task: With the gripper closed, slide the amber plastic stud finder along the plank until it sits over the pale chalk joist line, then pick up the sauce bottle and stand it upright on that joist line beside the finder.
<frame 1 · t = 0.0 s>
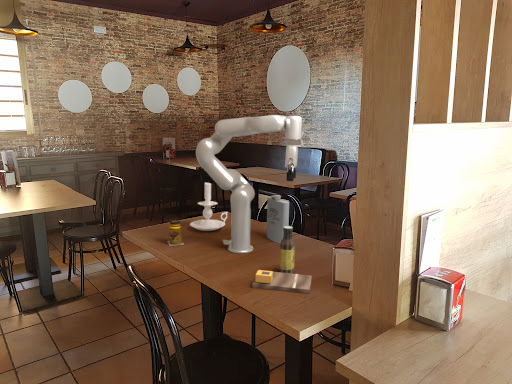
hand: (291, 179, 183), 37 cm above the table, tool pointing down, fingers open, 9 cm apart
candlestick: (210, 228, 231), on the table
stud finder: (264, 276, 153), point 3 cm above the table, slide at 0.0 cm
plank: (282, 283, 156), on the table
flask: (276, 240, 211), on the table
condiment: (175, 243, 202), on the table
sauce bottle: (286, 272, 168), on the table
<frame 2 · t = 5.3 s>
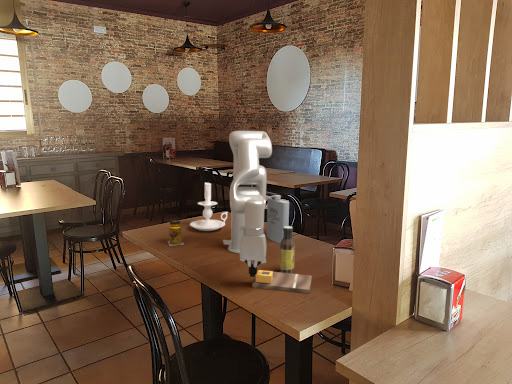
hand: (252, 275, 154), 3 cm above the table, tool pointing down, fingers closed
stud finder: (264, 276, 153), point 3 cm above the table, slide at 0.1 cm, touching gripper
everything else where it was.
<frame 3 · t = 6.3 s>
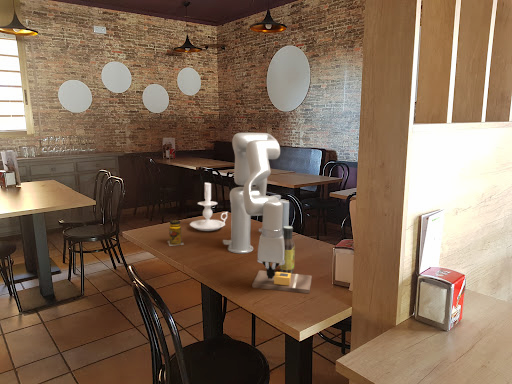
hand: (270, 277, 153), 3 cm above the table, tool pointing down, fingers closed
stud finder: (282, 278, 152), point 3 cm above the table, slide at 7.2 cm, touching gripper
everything else where it was.
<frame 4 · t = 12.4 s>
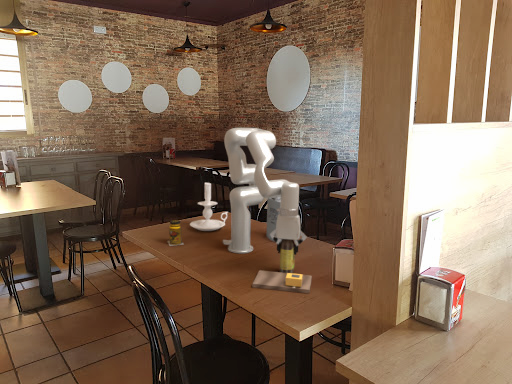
hand: (287, 252, 166), 9 cm above the table, tool pointing down, fingers closed on sauce bottle, 6 cm apart
stud finder: (294, 279, 151), point 3 cm above the table, slide at 11.7 cm
sauce bottle: (286, 272, 168), on the table, touching gripper
everything else where it was.
when the fingers open (11 cm above the table, at t = 17.8 s): sauce bottle drops 1 cm, resting on plank.
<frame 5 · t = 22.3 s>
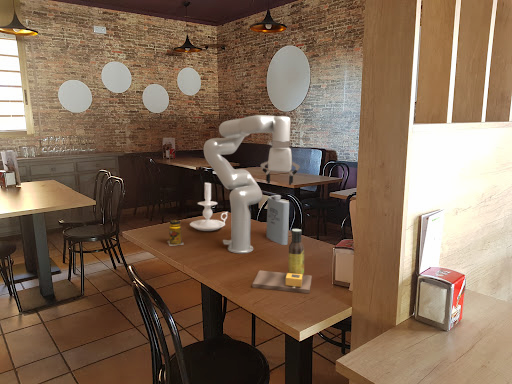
hand: (279, 183, 173), 36 cm above the table, tool pointing down, fingers open, 9 cm apart
sauce bottle: (295, 277, 158), point 1 cm above the table, touching plank
everything else where it was.
at the end: stud finder slide at 11.7 cm; sauce bottle 0.2 cm from the target spot, point 1.4 cm above the table; sauce bottle tilted 1° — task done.
